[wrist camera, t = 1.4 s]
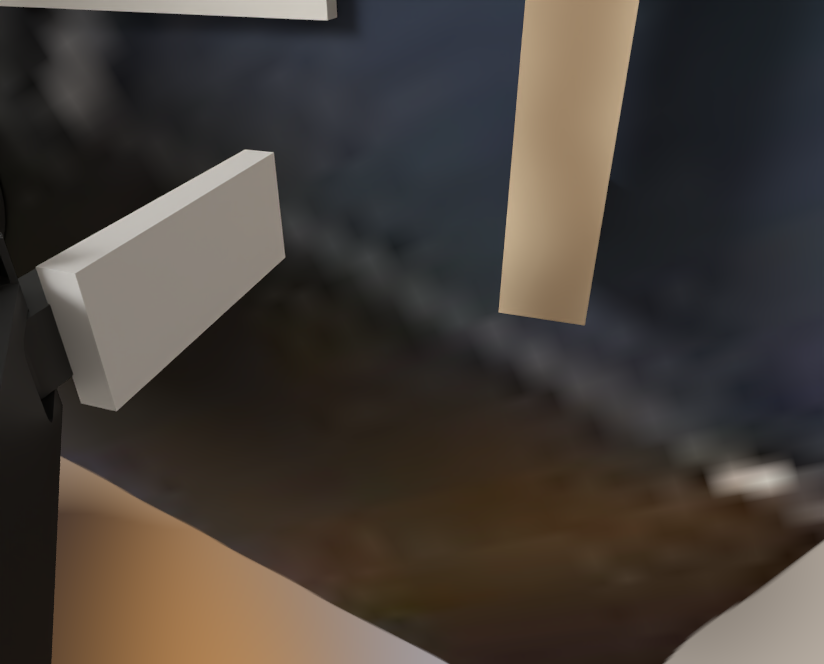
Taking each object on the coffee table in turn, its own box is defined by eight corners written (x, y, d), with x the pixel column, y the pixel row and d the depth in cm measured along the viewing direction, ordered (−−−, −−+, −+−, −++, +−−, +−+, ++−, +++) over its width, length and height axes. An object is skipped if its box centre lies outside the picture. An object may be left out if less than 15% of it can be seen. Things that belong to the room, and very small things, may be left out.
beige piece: (408, 222, 30) (354, 290, 25) (409, -256, 22) (324, -321, 16) (733, 261, 27) (757, 351, 21) (892, -287, 18) (1006, -383, 13)
